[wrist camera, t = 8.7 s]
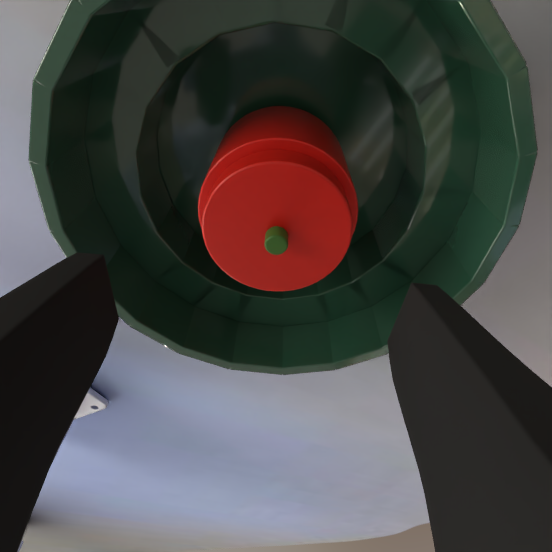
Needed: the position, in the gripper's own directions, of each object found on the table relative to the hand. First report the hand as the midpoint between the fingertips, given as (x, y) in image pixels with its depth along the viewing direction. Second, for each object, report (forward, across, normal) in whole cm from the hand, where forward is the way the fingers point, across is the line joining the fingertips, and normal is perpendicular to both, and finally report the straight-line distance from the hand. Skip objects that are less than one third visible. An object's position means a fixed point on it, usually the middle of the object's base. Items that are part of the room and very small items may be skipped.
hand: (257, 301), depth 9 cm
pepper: (+8, 0, 0) cm, 8 cm away
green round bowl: (+9, 0, 0) cm, 9 cm away
